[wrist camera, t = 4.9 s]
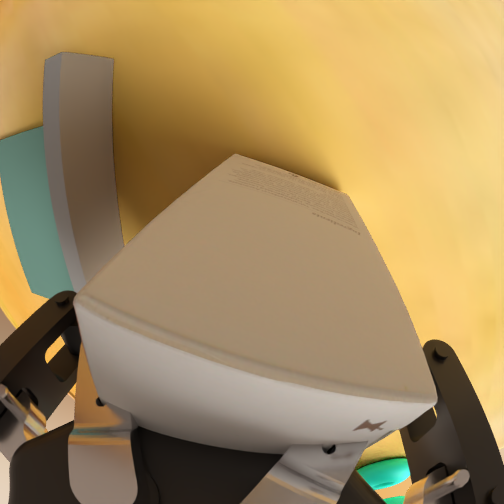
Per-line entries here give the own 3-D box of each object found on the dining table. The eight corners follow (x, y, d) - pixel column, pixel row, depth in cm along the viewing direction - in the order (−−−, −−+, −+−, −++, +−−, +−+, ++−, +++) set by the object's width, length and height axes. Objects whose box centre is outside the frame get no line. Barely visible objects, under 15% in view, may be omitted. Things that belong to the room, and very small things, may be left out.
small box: (234, 150, 12) (59, 282, 3) (350, 193, 12) (453, 400, 3) (197, 287, 16) (115, 454, 7) (288, 318, 16) (269, 499, 7)
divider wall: (96, 63, 10) (45, 60, 7) (113, 58, 10) (62, 51, 7) (135, 345, 20) (113, 382, 16) (148, 349, 20) (127, 387, 16)
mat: (0, 140, 13) (-4, 141, 13) (90, 114, 12) (85, 115, 11) (34, 290, 20) (31, 292, 19) (122, 316, 18) (120, 320, 18)
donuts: (335, 527, 22) (385, 517, 17) (337, 474, 31) (382, 454, 26) (382, 522, 22) (430, 507, 18) (381, 475, 31) (424, 454, 26)
